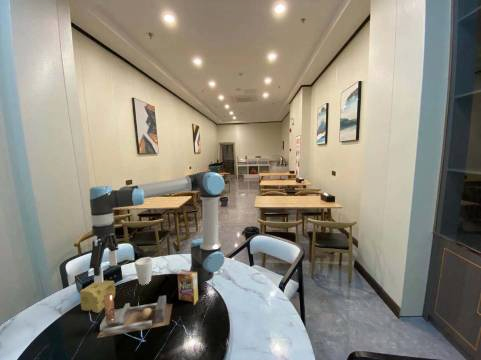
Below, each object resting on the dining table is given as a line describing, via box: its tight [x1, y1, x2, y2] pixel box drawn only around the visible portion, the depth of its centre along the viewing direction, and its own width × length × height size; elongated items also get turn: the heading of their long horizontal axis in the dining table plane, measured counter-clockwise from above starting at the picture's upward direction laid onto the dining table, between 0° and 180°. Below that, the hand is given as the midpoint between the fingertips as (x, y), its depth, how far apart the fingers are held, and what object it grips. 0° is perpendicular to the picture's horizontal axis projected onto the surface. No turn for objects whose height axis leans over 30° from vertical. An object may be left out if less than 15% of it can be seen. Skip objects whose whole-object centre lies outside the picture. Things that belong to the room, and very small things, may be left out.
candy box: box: [177, 269, 199, 306], centre depth 99 cm, size 9×4×15 cm, turn 73°
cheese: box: [79, 280, 116, 313], centre depth 99 cm, size 10×11×10 cm
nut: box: [142, 308, 152, 319], centre depth 88 cm, size 4×4×4 cm
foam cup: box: [134, 256, 153, 286], centre depth 117 cm, size 10×9×13 cm
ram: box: [99, 293, 131, 331], centre depth 85 cm, size 9×8×12 cm
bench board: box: [96, 295, 173, 339], centre depth 87 cm, size 27×13×8 cm, turn 103°
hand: (106, 273), depth 83 cm, fingers open, 13 cm apart
